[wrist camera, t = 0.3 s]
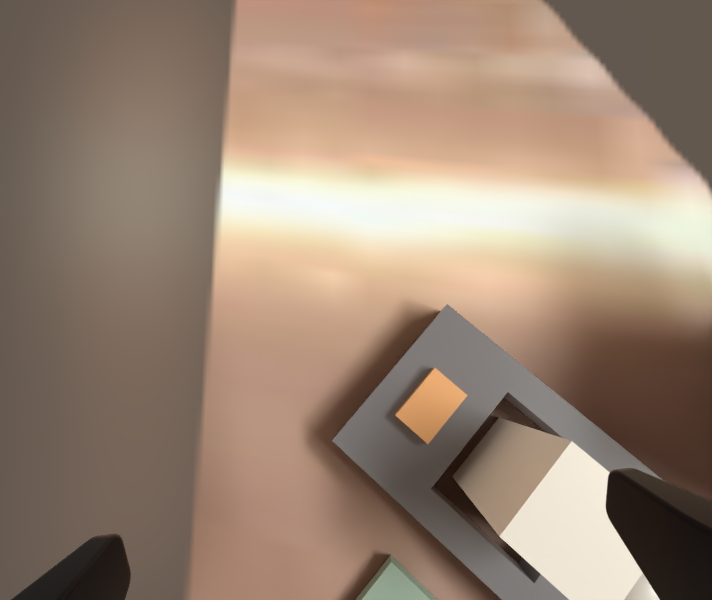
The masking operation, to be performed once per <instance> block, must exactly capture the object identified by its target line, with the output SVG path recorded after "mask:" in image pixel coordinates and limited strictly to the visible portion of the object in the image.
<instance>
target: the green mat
mask: <svg viewBox="0 0 712 600" xmlns="http://www.w3.org/2000/svg"><path fill="white" fill-rule="evenodd" d="M355 600H437V599H436V598H435V597H434V596H433V595H432V594H431V593H430V592H429V591H428V590H427V589H426V588H424V587H423V586H422V585H421V584H420V583H419V582H418V581H417V580H416V579H415V578H414V577H413V576H412V575H411V574H410V573H409V572H408V571H407V570H406V569H405V568H404V567H403V566H402V565H401V564H400V563H399V562H398V561H397V560H395V559H394V558H393V557H392V556H391V555H390V556H389V558H388V559H387V560H386V561H385V563H384V564H383V565H382V566H381V568H380V569H379V570H378V572H377V573H376V574H375V575H374V577H373V578H372V579H371V580H370V582H369V583H368V584H367V585H366V587H365V588H364V589H363V590H362V592H361V593H360V594H359V596H358V597H357V598H356V599H355Z"/></svg>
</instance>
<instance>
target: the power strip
mask: <svg viewBox="0 0 712 600" xmlns="http://www.w3.org/2000/svg"><path fill="white" fill-rule="evenodd" d="M503 397H504V398H505V399H506V400H508V401H509V402H510V403H511V404H512V405H513V406H515V407H516V408H517V409H518V410H519V411H521V412H522V413H523V414H524V415H525V416H527V417H528V418H529V419H530V420H531V421H533V422H534V423H535V424H536V425H537V426H539V427H540V428H541V429H542V430H543V431H545V432H546V433H549V434H552V435H555V436H558V437H561V438H564V439H567V440H570V441H572V442H574V443H575V444H576V445H577V446H578V447H580V448H581V449H582V450H583V451H584V452H586V453H587V454H588V455H589V456H590V457H592V458H593V459H594V460H595V461H597V462H598V463H599V464H600V465H601V466H603V467H604V468H605V469H606V470H607V471H609V472H611V471H612V470H616V469H623V468H635V469H638V470H640V471H642V472H645V473H647V474H650V475H652V476H654V477H657V478H659V479H661V478H660V477H659V476H657V475H656V474H655V473H654V472H653V471H651V470H650V469H649V468H648V467H646V466H645V465H644V464H643V463H642V462H640V461H639V460H638V459H637V458H635V457H634V456H633V455H632V454H630V453H629V452H628V451H627V450H626V449H624V448H623V447H622V446H621V445H619V444H618V443H617V442H616V441H614V440H613V439H612V438H611V437H610V436H608V435H607V434H606V433H605V432H603V431H602V430H601V429H600V428H599V427H597V426H596V425H595V424H594V423H592V422H591V421H590V420H589V419H587V418H586V417H585V416H584V415H583V414H581V413H580V412H579V411H578V410H576V409H575V408H574V407H573V406H572V405H570V404H569V403H568V402H567V401H565V400H564V399H563V398H562V397H560V396H559V395H558V394H557V393H556V392H554V391H553V390H552V389H551V388H549V387H548V386H547V385H546V384H544V383H543V382H542V381H541V380H540V379H538V378H537V377H536V376H535V375H533V374H532V373H531V372H530V371H529V370H527V369H526V368H525V367H524V366H522V365H521V364H520V363H519V362H517V361H516V360H515V359H514V358H513V357H511V356H510V355H509V354H508V353H506V352H505V351H504V350H503V349H502V348H500V347H499V346H498V345H497V344H495V343H494V342H493V341H492V340H490V339H489V338H488V337H487V336H486V335H484V334H483V333H482V332H481V331H479V330H478V329H477V328H476V327H475V326H473V325H472V324H471V323H470V322H468V321H467V320H466V319H465V318H463V317H462V316H461V315H460V314H459V313H457V312H456V311H455V310H454V309H452V308H451V307H450V306H449V305H446V306H445V307H444V308H443V309H442V310H441V311H440V312H439V313H438V315H437V316H436V317H435V318H434V319H433V321H432V322H431V323H430V324H429V325H428V326H427V328H426V329H425V330H424V331H423V332H422V334H421V335H420V336H419V337H418V338H417V339H416V341H415V342H414V343H413V344H412V345H411V347H410V348H409V349H408V350H407V351H406V352H405V354H404V355H403V356H402V357H401V358H400V360H399V361H398V362H397V363H396V364H395V365H394V367H393V368H392V369H391V370H390V371H389V373H388V374H387V375H386V376H385V377H384V378H383V380H382V381H381V382H380V383H379V384H378V386H377V387H376V388H375V389H374V390H373V391H372V393H371V394H370V395H369V396H368V397H367V399H366V400H365V401H364V402H363V403H362V404H361V406H360V407H359V408H358V409H357V410H356V412H355V413H354V414H353V415H352V416H351V417H350V419H349V420H348V421H347V422H346V423H345V425H344V426H343V427H342V428H341V429H340V430H339V432H338V433H337V434H336V435H335V437H334V438H333V440H332V441H333V442H334V443H335V444H336V445H337V446H338V447H339V448H340V449H341V450H342V451H343V452H344V453H345V454H347V455H348V456H349V457H350V458H351V459H352V460H353V461H354V462H355V463H356V464H357V465H358V466H359V467H360V468H362V469H363V470H364V471H365V472H366V473H367V474H368V475H369V476H370V477H371V478H372V479H373V480H374V481H375V482H376V483H378V484H379V485H380V486H381V487H382V488H383V489H384V490H385V491H386V492H387V493H388V494H389V495H390V496H391V497H393V498H394V499H395V500H396V501H397V502H398V503H399V504H400V505H401V506H402V507H403V508H404V509H405V510H406V511H407V512H409V513H410V514H411V515H412V516H413V517H414V518H415V519H416V520H417V521H418V522H419V523H420V524H421V525H422V526H424V527H425V528H426V529H427V530H428V531H429V532H430V533H431V534H432V535H433V536H434V537H435V538H436V539H437V540H438V541H440V542H441V543H442V544H443V545H444V546H445V547H446V548H447V549H448V550H449V551H450V552H451V553H452V554H453V555H455V556H456V557H457V558H458V559H459V560H460V561H461V562H462V563H463V564H464V565H465V566H466V567H467V568H468V569H469V570H471V571H472V572H473V573H474V574H475V575H476V576H477V577H478V578H479V579H480V580H481V581H482V582H483V583H484V584H486V585H487V586H488V587H489V588H490V589H491V590H492V591H493V592H494V593H495V594H496V595H497V596H498V597H499V598H500V599H502V600H569V599H568V598H567V597H566V596H564V595H563V594H562V593H561V592H560V591H559V590H558V589H557V588H556V587H555V586H553V585H552V584H551V583H550V582H549V581H548V580H547V579H546V578H545V577H544V576H542V575H541V574H540V573H539V572H538V571H537V570H536V569H535V568H534V567H532V566H531V565H530V564H529V563H528V562H527V561H526V560H525V559H524V558H522V559H521V560H520V562H519V563H518V562H516V561H515V560H514V559H513V558H512V557H511V556H510V555H509V554H508V553H507V552H505V551H504V550H503V549H502V548H501V547H500V546H499V545H498V544H497V543H496V542H495V541H493V540H492V539H491V538H490V537H489V536H488V535H487V534H486V533H485V532H484V531H482V530H481V529H480V528H479V527H478V526H477V525H476V524H475V523H474V522H473V521H471V520H470V519H469V518H468V517H467V516H466V515H465V514H464V513H463V512H462V511H460V510H459V509H458V508H457V507H456V506H455V505H454V504H453V503H452V502H451V501H449V500H448V499H447V498H446V497H445V496H444V495H443V494H442V493H441V492H440V491H439V490H437V489H436V488H435V487H434V484H435V483H436V482H437V481H438V479H439V478H440V477H441V476H442V474H443V473H444V472H445V470H446V469H447V468H448V467H449V465H450V464H451V463H452V462H453V460H454V459H455V458H456V457H457V455H458V454H459V453H460V452H461V450H462V449H463V448H464V447H465V445H466V444H467V443H468V442H469V440H470V439H471V438H472V436H473V435H474V434H475V433H476V431H477V430H478V429H479V428H480V426H481V425H482V424H483V423H484V421H485V420H486V419H487V418H488V416H489V415H490V414H491V413H492V411H493V410H494V409H495V408H496V406H497V405H498V404H499V403H500V401H501V400H502V399H503ZM624 600H660V599H659V598H658V596H657V595H656V593H655V592H654V590H653V588H652V587H651V585H650V584H649V582H648V580H647V579H646V577H645V576H644V574H643V573H642V575H641V576H640V578H639V579H638V580H637V582H636V583H635V585H634V586H633V588H632V589H631V590H630V592H629V593H628V595H627V596H626V598H625V599H624Z"/></svg>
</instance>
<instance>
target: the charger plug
mask: <svg viewBox="0 0 712 600" xmlns="http://www.w3.org/2000/svg"><path fill="white" fill-rule="evenodd" d="M609 473H610V472H609V471H607V470H606V469H605V468H604V467H603V466H601V465H600V464H599V463H598V462H597V461H595V460H594V459H593V458H592V457H590V456H589V455H588V454H587V453H586V452H584V451H583V450H582V449H581V448H580V447H578V446H577V445H576V444H575V443H574V442H572V441H570V440H567V439H564V438H561V437H558V436H555V435H552V434H549V433H546V432H542V431H539V430H536V429H533V428H530V427H527V426H524V425H521V424H518V423H515V422H512V421H508V420H505V419H502V418H498V419H497V420H496V422H495V423H494V424H493V426H492V427H491V428H490V429H489V431H488V432H487V433H486V434H485V436H484V437H483V438H482V439H481V441H480V442H479V443H478V445H477V446H476V447H475V448H474V450H473V451H472V452H471V453H470V455H469V456H468V457H467V458H466V460H465V461H464V462H463V463H462V465H461V466H460V467H459V469H458V470H457V471H456V472H455V474H454V475H453V476H452V477H453V478H454V480H455V481H456V482H457V483H458V485H459V486H460V487H461V488H462V490H463V491H464V492H465V494H466V495H467V496H468V497H469V499H470V500H471V501H472V502H473V504H474V505H475V506H476V507H477V509H478V510H479V511H480V513H481V514H482V515H483V516H484V518H485V519H486V520H487V521H488V523H489V524H490V525H491V526H492V528H493V529H494V530H495V532H496V533H497V534H498V535H499V537H500V538H502V539H503V540H504V541H505V542H506V543H507V544H508V545H509V546H510V547H512V548H513V549H514V550H515V551H516V552H517V553H518V554H519V555H520V556H521V557H523V558H524V559H525V560H526V561H527V562H528V563H529V564H530V565H531V566H532V567H534V568H535V569H536V570H537V571H538V572H539V573H540V574H541V575H542V576H544V577H545V578H546V579H547V580H548V581H549V582H550V583H551V584H552V585H553V586H555V587H556V588H557V589H558V590H559V591H560V592H561V593H562V594H563V595H564V596H566V597H567V598H568V599H569V600H624V599H625V598H626V596H627V595H628V593H629V592H630V590H631V589H632V588H633V586H634V585H635V583H636V582H637V580H638V579H639V578H640V576H641V575H642V571H641V569H640V568H639V566H638V565H637V563H636V561H635V560H634V558H633V557H632V555H631V554H630V552H629V550H628V549H627V547H626V546H625V544H624V542H623V541H622V539H621V538H620V536H619V535H618V533H617V531H616V530H615V528H614V527H613V525H612V523H611V522H610V520H609V518H608V515H607V512H606V494H607V483H608V475H609Z"/></svg>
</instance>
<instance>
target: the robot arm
mask: <svg viewBox="0 0 712 600" xmlns="http://www.w3.org/2000/svg"><path fill="white" fill-rule="evenodd" d="M606 512H607V515H608V518H609V520H610V522H611V523H612V525H613V527H614V528H615V530H616V531H617V533H618V535H619V536H620V538H621V539H622V541H623V542H624V544H625V546H626V547H627V549H628V550H629V552H630V554H631V555H632V557H633V558H634V560H635V561H636V563H637V565H638V566H639V568H640V569H641V571H642V573H643V574H644V576H645V577H646V579H647V580H648V582H649V584H650V585H651V587H652V588H653V590H654V592H655V593H656V595H657V596H658V598H659V599H660V600H712V500H709V499H707V498H704V497H702V496H700V495H697V494H695V493H693V492H690V491H688V490H685V489H683V488H681V487H678V486H676V485H673V484H671V483H669V482H666V481H664V480H662V479H659V478H657V477H654V476H652V475H650V474H647V473H645V472H642V471H640V470H638V469H635V468H623V469H616V470H612V471H611V472H610V473H609V475H608V483H607V494H606ZM130 575H131V574H130V567H129V563H128V559H127V555H126V552H125V548H124V544H123V540H122V538H121V537H120V535H118V534H108V535H101V536H95V537H93V538H91V539H89V540H88V541H87V542H85V543H84V544H83V545H82V546H80V547H79V548H78V549H76V550H75V551H74V552H73V553H71V554H70V555H68V556H67V557H66V558H65V559H63V560H62V561H61V562H59V563H58V564H57V565H55V566H54V567H53V568H52V569H50V570H49V571H48V572H46V573H45V574H44V575H42V576H41V577H40V578H39V579H37V580H36V581H35V582H33V583H32V584H31V585H30V586H28V587H27V588H26V589H24V590H23V591H22V592H20V593H19V594H18V595H16V596H15V597H14V598H13V599H11V600H125V598H126V594H127V591H128V588H129V584H130Z"/></svg>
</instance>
